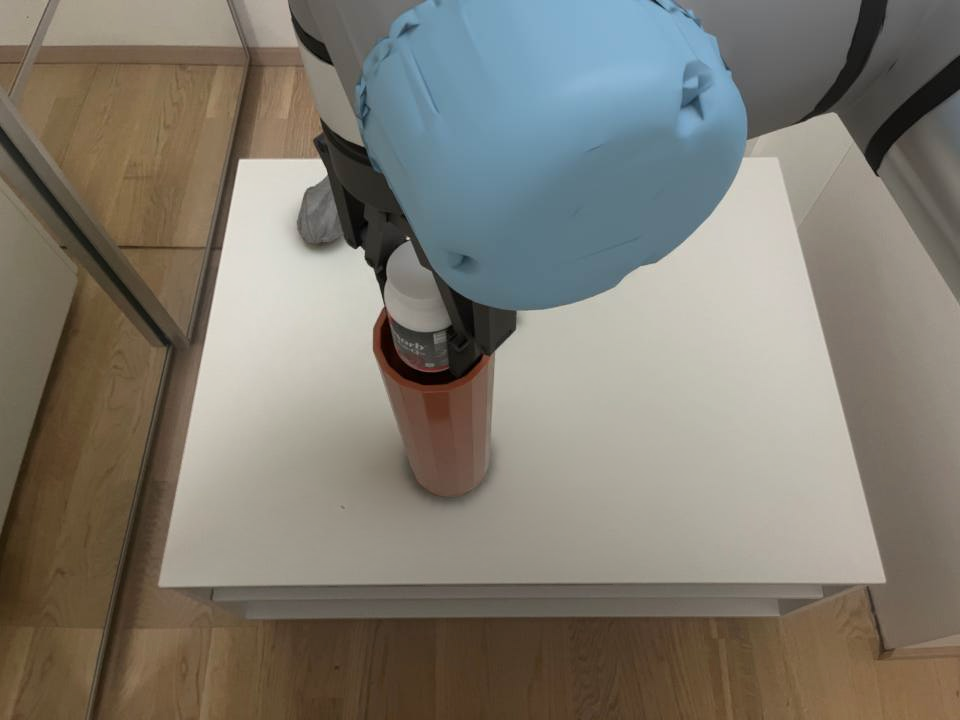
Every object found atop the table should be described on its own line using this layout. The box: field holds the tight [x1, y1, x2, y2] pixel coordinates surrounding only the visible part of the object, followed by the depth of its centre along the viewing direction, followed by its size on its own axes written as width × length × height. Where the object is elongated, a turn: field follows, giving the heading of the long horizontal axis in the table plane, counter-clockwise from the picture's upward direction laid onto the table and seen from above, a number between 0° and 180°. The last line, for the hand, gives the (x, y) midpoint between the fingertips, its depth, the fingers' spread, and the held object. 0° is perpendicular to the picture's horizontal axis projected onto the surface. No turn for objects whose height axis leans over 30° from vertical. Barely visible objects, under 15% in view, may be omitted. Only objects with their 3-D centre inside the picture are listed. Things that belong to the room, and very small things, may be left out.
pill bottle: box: [384, 240, 452, 372], centre depth 46 cm, size 6×6×10 cm
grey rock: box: [296, 174, 343, 245], centre depth 90 cm, size 11×9×8 cm
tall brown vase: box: [372, 306, 496, 498], centre depth 65 cm, size 9×9×32 cm
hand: (434, 336), depth 50 cm, fingers closed on pill bottle, 6 cm apart
